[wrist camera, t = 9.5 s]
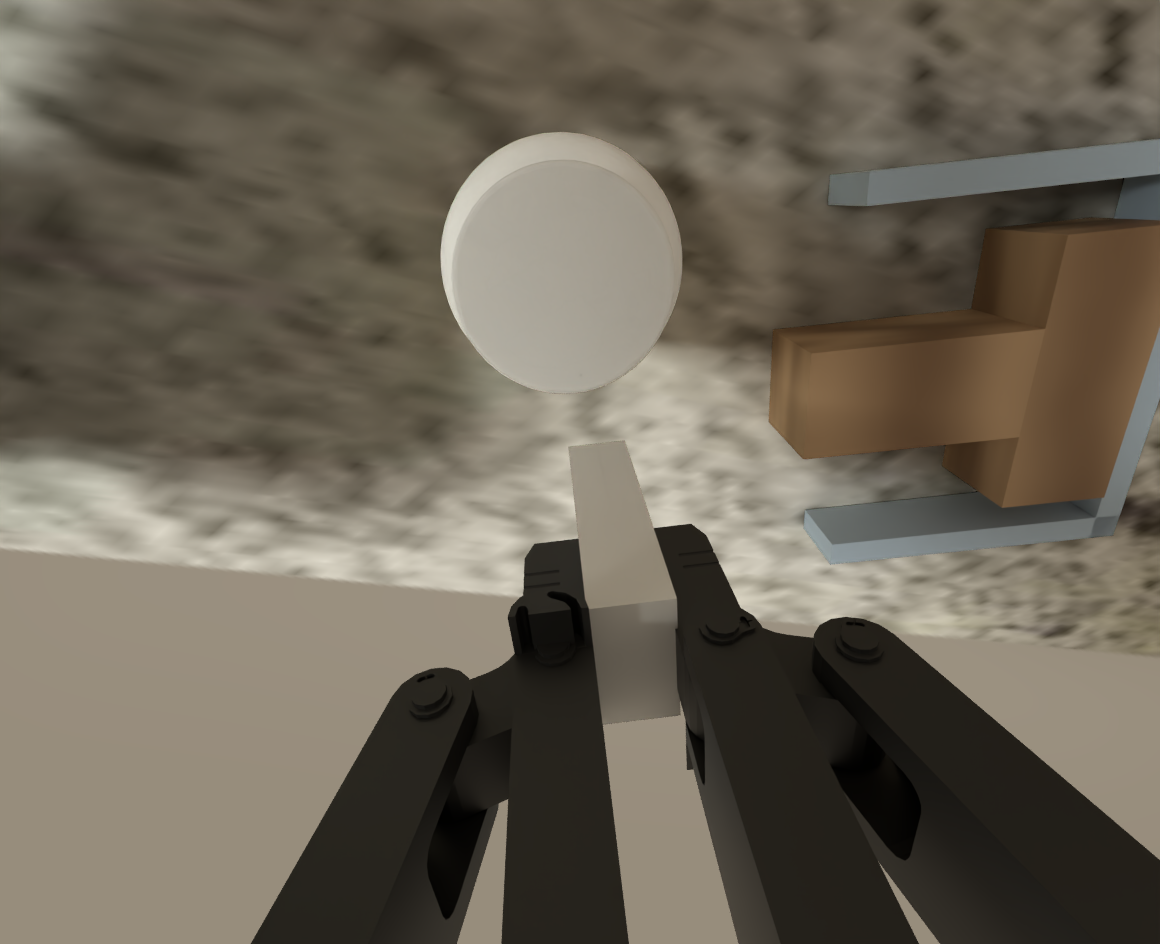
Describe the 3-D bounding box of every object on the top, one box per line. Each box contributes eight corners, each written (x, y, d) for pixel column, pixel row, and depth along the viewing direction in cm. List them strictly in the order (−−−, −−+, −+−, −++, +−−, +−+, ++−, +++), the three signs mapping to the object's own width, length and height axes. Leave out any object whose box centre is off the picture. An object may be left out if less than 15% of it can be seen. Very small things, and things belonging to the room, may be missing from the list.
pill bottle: (601, 354, 24) (631, 468, 14) (455, 290, 23) (374, 366, 13) (671, 200, 21) (770, 204, 11) (514, 120, 20) (470, 47, 10)
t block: (765, 483, 27) (798, 528, 23) (776, 250, 22) (817, 261, 19) (1029, 456, 27) (1104, 497, 23) (1090, 217, 22) (1194, 221, 19)
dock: (803, 528, 28) (830, 564, 25) (829, 174, 21) (870, 171, 19) (1058, 502, 28) (1113, 535, 25) (1162, 138, 21) (1251, 129, 18)
